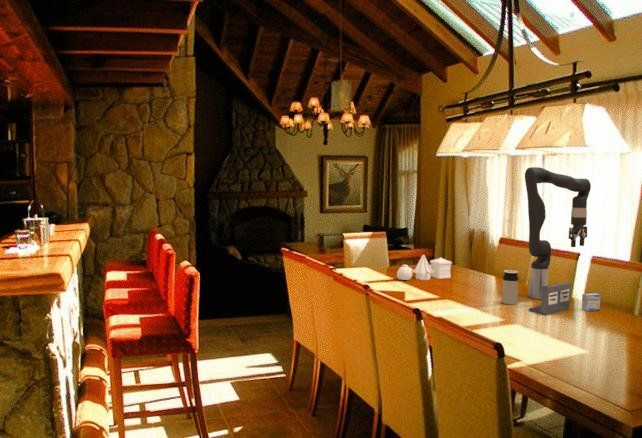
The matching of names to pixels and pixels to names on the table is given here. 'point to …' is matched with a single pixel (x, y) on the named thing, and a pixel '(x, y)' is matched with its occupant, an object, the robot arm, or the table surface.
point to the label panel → (553, 299)
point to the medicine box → (591, 302)
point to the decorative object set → (426, 269)
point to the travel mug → (510, 287)
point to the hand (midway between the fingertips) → (577, 246)
